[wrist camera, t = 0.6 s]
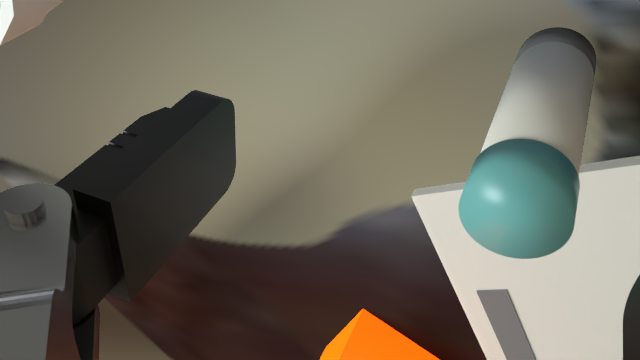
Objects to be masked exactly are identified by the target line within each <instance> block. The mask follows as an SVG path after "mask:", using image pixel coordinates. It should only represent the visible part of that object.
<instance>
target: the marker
mask: <svg viewBox="0 0 640 360" xmlns="http://www.w3.org/2000/svg"><path fill="white" fill-rule="evenodd" d="M595 67H596V55H595V51H594V48H593V47H592V45H591V43H590V42H589V41H588V40H587V39H586V38H585V37H584V36H583V35H581V34H580V33H578V32H576V31H574V30H571V29H567V28H548V29H544V30H541V31H539V32H537V33H535V34H533V35H532V36H531V37H529V38H528V39H527V40H526V41H525V42H524V44H523V45H522V46H521V48H520V50H519V53H518V56H517V58H516V61H515V63H514V66H513V69H512V71H511V74H510V76H509V79H508V82H507V84H506V87H505V90H504V92H503V95H502V98H501V100H500V103H499V105H498V108H497V111H496V113H495V116H494V119H493V121H492V124H491V127H490V129H489V132H488V134H487V137H486V140H485V142H484V145H483V148H482V150H481V153H480V154H479V156H478V157H477V158H476V160H475V162H474V164H473V166H472V169H471V172H470V175H469V177H468V179H467V182H466V184H465V187H464V189H463V192H462V195H461V197H460V200H459V206H458V209H459V217H460V220H461V223H462V225H463V227H464V228H465V230H466V231H467V233H468V234H469V235H470V236H471V237H472V238H473V239H474V240H475V241H476V242H477V243H479V244H480V245H481V246H483V247H484V248H486V249H488V250H490V251H492V252H494V253H497V254H499V255H503V256H506V257H511V258H518V259H532V258H539V257H544V256H546V255H549V254H552V253H554V252H556V251H557V250H559V249H560V248H562V247H563V246H564V245H565V244H566V243H567V241H568V240H569V239H570V237H571V235H572V233H573V230H574V224H575V217H576V210H577V204H578V197H579V190H580V181H579V170H580V164H581V157H582V151H583V145H584V138H585V132H586V125H587V119H588V112H589V106H590V99H591V93H592V87H593V80H594V74H595Z"/></svg>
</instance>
